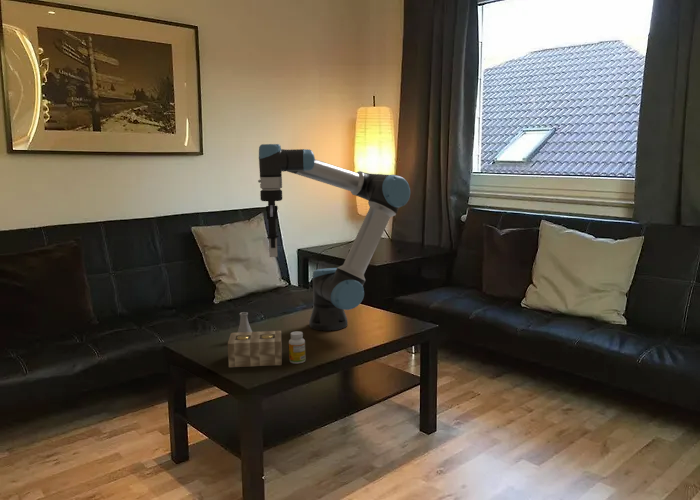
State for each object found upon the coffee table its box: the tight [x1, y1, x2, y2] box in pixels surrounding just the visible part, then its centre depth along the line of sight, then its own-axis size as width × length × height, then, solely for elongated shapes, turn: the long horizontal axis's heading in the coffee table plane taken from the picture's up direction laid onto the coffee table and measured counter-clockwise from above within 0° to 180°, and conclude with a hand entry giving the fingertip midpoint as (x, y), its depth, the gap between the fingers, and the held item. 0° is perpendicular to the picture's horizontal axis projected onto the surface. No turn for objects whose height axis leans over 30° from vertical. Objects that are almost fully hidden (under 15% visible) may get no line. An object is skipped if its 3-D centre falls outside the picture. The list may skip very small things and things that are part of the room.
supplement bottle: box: [288, 330, 307, 365], centre depth 206 cm, size 5×5×10 cm
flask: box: [236, 311, 253, 333], centre depth 231 cm, size 7×7×10 cm
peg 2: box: [261, 334, 273, 339], centre depth 208 cm, size 4×4×8 cm
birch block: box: [227, 330, 283, 368], centre depth 208 cm, size 17×12×8 cm
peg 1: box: [237, 335, 249, 340], centre depth 207 cm, size 4×4×8 cm
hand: (273, 256), depth 218 cm, fingers closed
